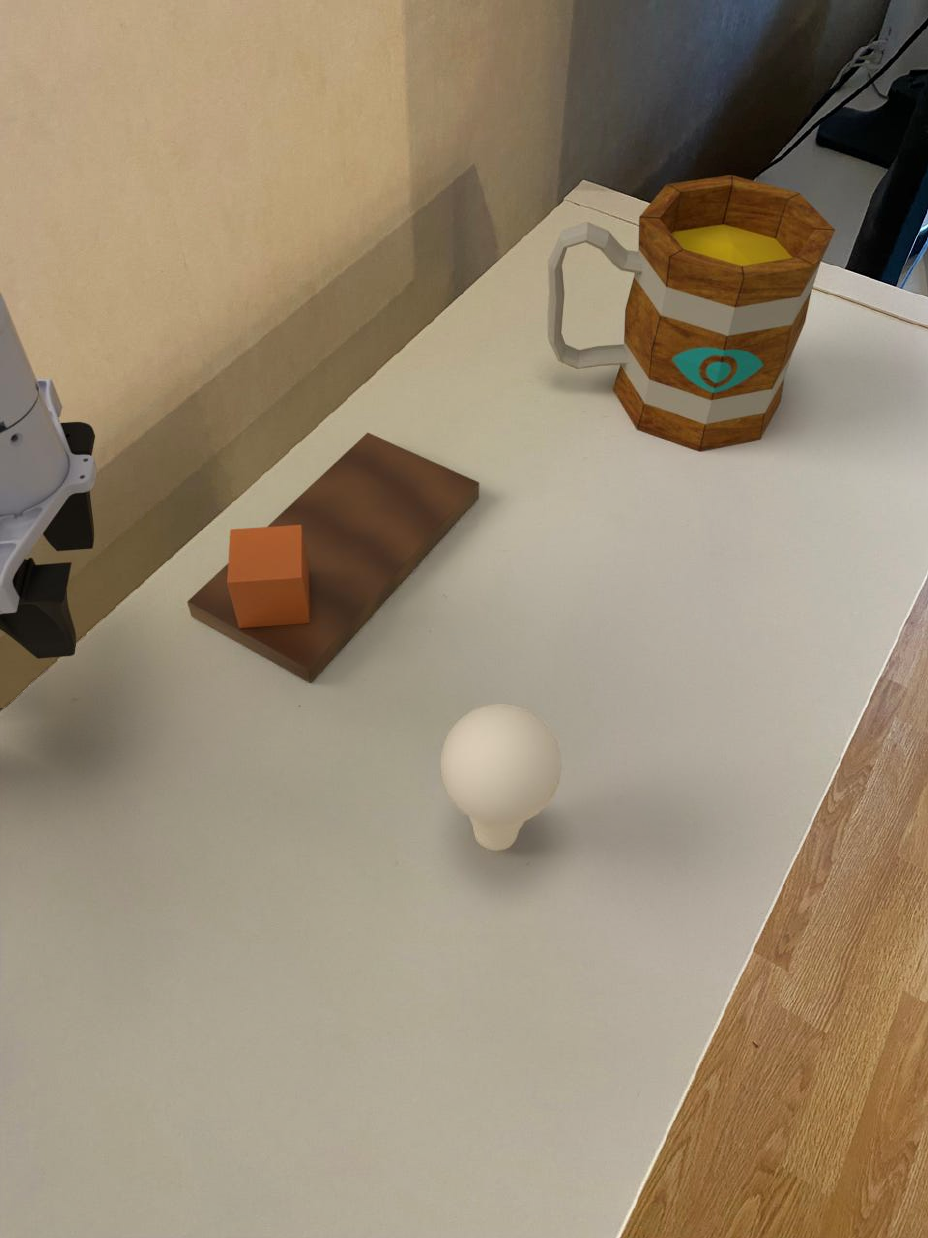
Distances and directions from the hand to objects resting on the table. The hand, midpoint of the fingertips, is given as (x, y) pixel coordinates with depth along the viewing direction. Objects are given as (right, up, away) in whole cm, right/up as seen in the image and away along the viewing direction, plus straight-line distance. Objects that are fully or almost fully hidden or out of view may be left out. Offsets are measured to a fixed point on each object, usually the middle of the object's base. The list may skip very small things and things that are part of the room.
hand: (66, 596), depth 56 cm
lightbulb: (+24, -14, +2) cm, 27 cm away
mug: (+38, +17, +27) cm, 49 cm away
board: (+13, +3, +15) cm, 20 cm away
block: (+10, 0, +10) cm, 14 cm away
